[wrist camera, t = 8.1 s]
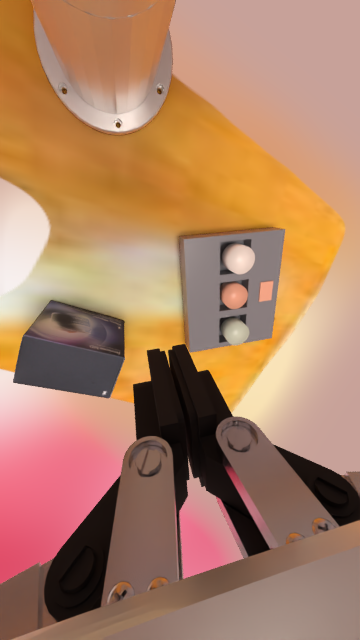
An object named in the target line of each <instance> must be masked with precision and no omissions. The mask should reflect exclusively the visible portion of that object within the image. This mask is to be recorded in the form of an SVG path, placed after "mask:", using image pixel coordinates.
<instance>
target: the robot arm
mask: <svg viewBox="0 0 360 640" xmlns="http://www.w3.org/2000/svg"><path fill="white" fill-rule="evenodd" d="M31 2H32V5H33V7H34V11H33V12H34V35H35V41H36V47H37V51H38V54H39V57H40V61H41V64H42V67H43V69H44V71H45V73H46V76H47V78H48V80H49V82H50V84H51V86H52V87H53V89H54V91H55V92H56V94H57V95H58V97H59V98H60V100H61V101H62V102H63V104H64V105H65V106H66V107H67V108H68V109H69V110H70V111H71V113H72V114H73V115H74V116H75V117H76V118H78V119H79V120H81V121H82V122H83V123H85V124H86V125H87V126H89V127H91V128H93V129H95V130H97V131H100V132H103V133H107V134H112V135H124V134H129V133H133V132H135V131H137V130H140V129H142V128H143V127H145V126H146V125H147V124H148V123H150V122H151V121H152V120H153V118H154V117H155V116H156V115H157V113H158V112H159V110H160V109H161V107H162V105H163V103H164V101H165V98H166V96H167V93H168V90H169V86H170V81H171V77H172V65H173V57H172V43H171V38H170V32H169V25H170V21H171V17H172V13H173V9H174V6H175V2H176V0H31ZM63 89H66V90H67V94H63V93H62V90H63ZM157 90H160V91H161V94H158V93H157ZM116 123H119V124H120V125H121V127H120V128H117V127H116ZM168 354H169V364H170V367H169V364H168V360H167V357H166V354H165V351H161V352H160V349H153V350H147V355H148V362H149V368H150V375H151V381H148V382H143V383H138V384H133V390H134V406H135V420H136V421H135V422H136V438H137V441H135V442H134V443H133V444H132V445H131V446H130V447H129V448H128V450H127V451H126V453H125V456H124V459H123V465H122V472H121V475H120V477H119V478H118V479H117V480H116V481H115V483H114V484H113V485H112V486H111V488H110V489H109V490H108V491H107V493H106V494H105V495H104V496H103V497H102V499H101V500H100V501H99V502H98V504H97V505H96V506H95V507H94V509H93V510H92V511H91V512H90V514H89V515H88V516H87V517H86V518H85V519H84V521H83V522H82V523H81V524H80V526H79V527H78V528H77V529H76V531H75V532H74V533H73V534H72V535H71V537H70V538H69V539H68V540H67V542H66V543H65V544H64V545H63V546H62V548H61V549H60V551H59V552H58V553H57V555H56V556H55V558H54V559H52V560H50V561H48V562H47V563H45V564H43V565H41V564H40V563H37V564H36V565H34V566H32V567H30V568H29V569H27V570H25V571H23V572H21V573H19V574H18V575H16V576H14V577H12V578H10V579H9V580H7V581H5V582H3V583H2V584H0V640H360V472H346V474H345V475H339V474H337V473H336V472H334V471H332V470H330V469H328V468H325V467H323V466H321V465H319V464H316V463H314V462H312V461H310V460H307V459H305V458H303V457H300V456H298V455H296V454H294V453H291V452H289V451H287V450H285V449H282V448H280V447H278V446H276V445H273V444H272V443H271V442H270V441H269V439H268V438H267V437H266V436H265V434H264V433H263V432H262V431H261V430H260V428H259V427H257V425H256V424H255V423H253V422H252V421H250V420H248V419H245V418H242V417H233V416H232V414H231V412H230V410H229V408H228V406H227V404H226V402H225V400H224V398H223V397H222V395H221V393H220V391H219V389H218V387H217V385H216V383H215V381H214V379H213V377H212V375H211V374H210V372H209V371H208V370H205V371H200V372H197V369H196V367H195V365H194V363H193V361H192V358H191V356H190V354H189V352H188V349H187V347H186V345H185V344H182V345H176V346H173V347H172V350H168ZM188 459H189V462H190V466H191V470H192V474H193V477H194V478H197V477H199V479H200V483H201V487H203V486H205V487H206V491H208V492H210V493H211V494H213V495H215V496H216V499H217V502H218V504H219V506H220V509H221V511H222V513H223V515H224V517H225V519H226V522H227V524H228V525H229V528H230V530H231V532H232V534H233V536H234V538H235V541H236V543H237V545H238V547H239V549H240V551H241V553H242V556H243V558H244V559H242V560H239V561H236V562H233V563H230V564H227V565H224V566H221V567H218V568H215V569H212V570H209V571H206V572H203V573H200V574H197V575H194V576H191V577H188V578H185V579H183V564H182V546H181V529H180V512H179V511H180V509H181V507H182V505H183V504H184V502H185V500H186V498H187V496H188V492H187V480H189V467H188Z"/></svg>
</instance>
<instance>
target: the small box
mask: <svg viewBox="0 0 360 640" xmlns="http://www.w3.org/2000/svg"><path fill="white" fill-rule="evenodd" d="M124 360H125V356H124V321H123V320H119V319H116V318H112V317H109V316H105V315H102V314H98V313H94V312H91V311H87V310H84V309H80V308H77V307H73V306H70V305H66V304H63V303H59V302H56V301H53V300H51V301H50V302H49V304H48V305H47V306H46V307H45V309H44V310H43V311H42V313H41V314H40V315H39V317H38V318H37V319H36V320H35V322H34V323H33V324H32V325H31V327H30V328H29V329H28V330H27V332H26V333H25V334H24V335H23V337H22V341H21V345H20V350H19V355H18V360H17V365H16V369H15V375H14V379H13V382H14V383H18V384H25V385H31V386H38V387H43V388H50V389H55V390H61V391H67V392H73V393H79V394H86V395H92V396H98V397H104V398H110V397H111V394H112V391H113V389H114V386H115V384H116V381H117V378H118V376H119V373H120V370H121V368H122V365H123V362H124Z"/></svg>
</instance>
